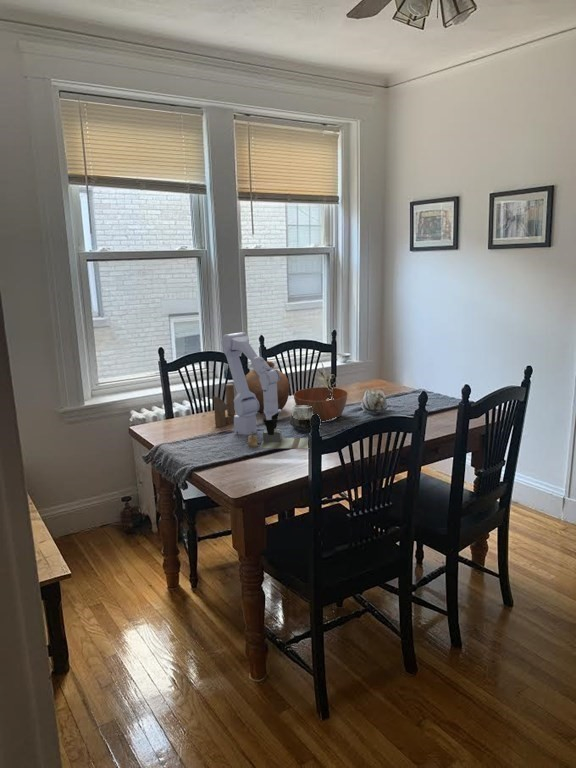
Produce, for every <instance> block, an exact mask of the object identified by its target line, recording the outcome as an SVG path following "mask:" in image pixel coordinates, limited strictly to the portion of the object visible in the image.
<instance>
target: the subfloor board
mask: <svg viewBox="0 0 576 768" xmlns="http://www.w3.org/2000/svg"><path fill="white" fill-rule="evenodd" d="M308 438H309V437H283V438H282V439H281V442H263V440H262V441H261V444H260V446H259V449H309V448H308Z"/></svg>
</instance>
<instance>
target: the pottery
mask: <svg viewBox="0 0 576 768" xmlns="http://www.w3.org/2000/svg"><path fill="white" fill-rule="evenodd" d="M265 361H266V363H267V364H268V365H269V366H270V368H273V369H276V370H277V371H278V373H279V376H280V380H279V382H278V383H277V396H278V409H281V411H282V410H283V409H284V408H285V406H286V404H287V402H288V400H289V396H290V383H289V382H290V381H289V379H288V377H287V376H286V375H285V374H284V373H283V372H282V371H280V370H279V369H278V368H275V367H276V366H275V365H276V364H275V363H274V362H272V361H269V360H265ZM245 378H246V381H247V385H248V388H249V391H250V392H252V393H254V394H255V396H256V398H257V400H258V401H259V405H260V407H259V410H258V411H257V414H262V415H265V413H264V400H263V389H262V387H261V383H260V381H259V378H260V377H259V375H258V374H257V373H256V372H255V370H254V369H253V368H252V370H250V371H249V372H248V373H247V374H246V375H245ZM244 400H247V399H244Z"/></svg>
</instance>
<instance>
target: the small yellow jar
mask: <svg viewBox="0 0 576 768" xmlns="http://www.w3.org/2000/svg"><path fill="white" fill-rule="evenodd" d="M247 439H248V440H247V441H248V447H249V448H256V447H258V446H259V445H258V435H255V433H254V434H253V432H251V434H250V435H248V437H247Z"/></svg>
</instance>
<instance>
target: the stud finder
mask: <svg viewBox="0 0 576 768" xmlns="http://www.w3.org/2000/svg"><path fill="white" fill-rule="evenodd" d="M282 436H283V435H282V429H281V428H276V429H274V435H268V432H267V429H266V428H265V429H263V431H262V441H263V442H281V439H282Z"/></svg>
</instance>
